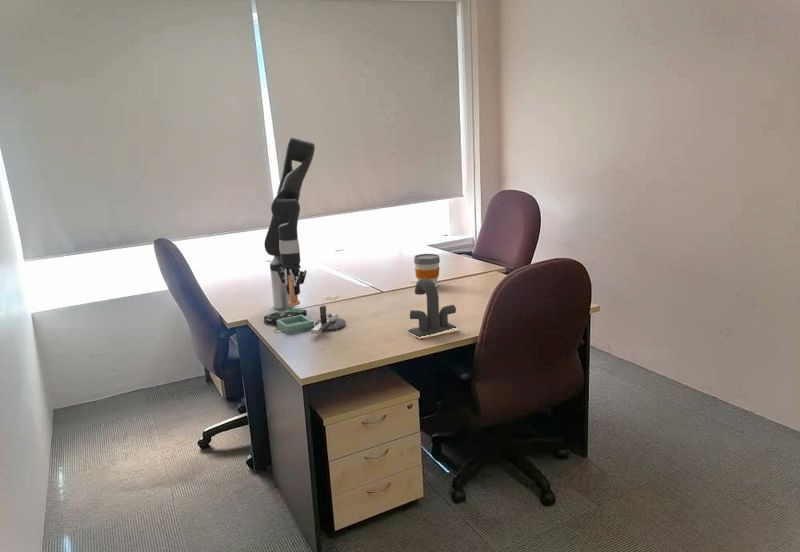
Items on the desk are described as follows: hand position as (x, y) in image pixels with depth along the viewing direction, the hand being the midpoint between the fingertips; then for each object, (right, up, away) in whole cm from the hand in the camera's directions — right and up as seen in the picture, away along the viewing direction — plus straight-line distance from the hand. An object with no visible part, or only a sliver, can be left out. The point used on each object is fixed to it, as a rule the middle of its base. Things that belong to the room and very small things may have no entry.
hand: (293, 294), depth 227 cm
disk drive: (-6, -11, +14) cm, 19 cm away
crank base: (+14, -13, +4) cm, 19 cm away
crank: (+13, -12, -1) cm, 18 cm away
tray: (0, -14, +3) cm, 14 cm away
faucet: (+53, -14, -4) cm, 55 cm away
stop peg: (0, -4, +1) cm, 4 cm away
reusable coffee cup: (+55, +2, +58) cm, 80 cm away
